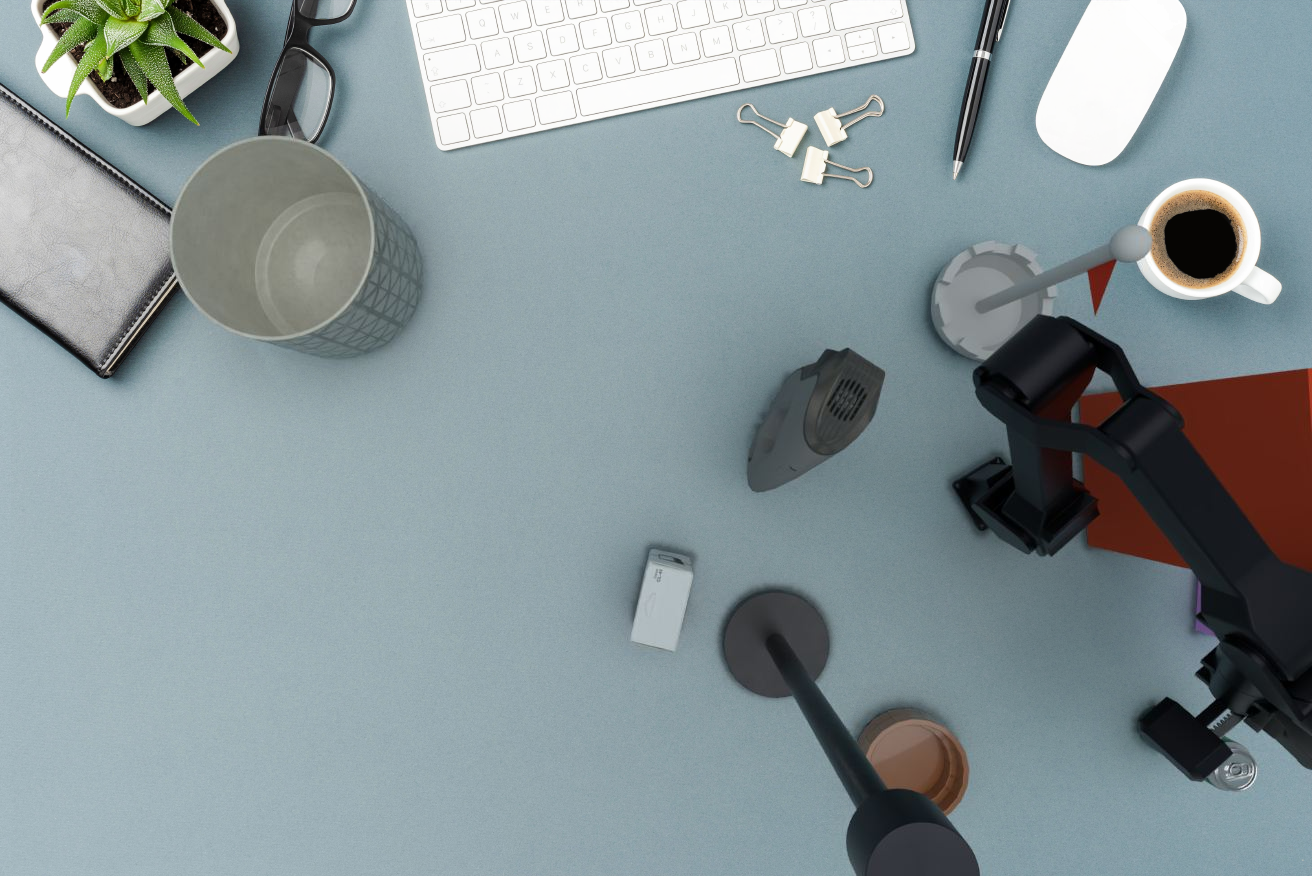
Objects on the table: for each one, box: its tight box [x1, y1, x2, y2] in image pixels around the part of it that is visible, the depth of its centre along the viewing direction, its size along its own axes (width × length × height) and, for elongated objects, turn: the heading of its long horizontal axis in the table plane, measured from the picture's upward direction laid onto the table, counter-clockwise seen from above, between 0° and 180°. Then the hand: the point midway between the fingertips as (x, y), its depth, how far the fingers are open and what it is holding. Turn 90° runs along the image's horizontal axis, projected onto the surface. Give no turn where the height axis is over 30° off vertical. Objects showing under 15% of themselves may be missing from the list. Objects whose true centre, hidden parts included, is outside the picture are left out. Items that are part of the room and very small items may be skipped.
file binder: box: [1078, 367, 1312, 572], centre depth 73 cm, size 8×17×32 cm, turn 3°
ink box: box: [629, 548, 694, 653], centre depth 83 cm, size 9×5×12 cm, turn 167°
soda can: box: [1140, 707, 1259, 793], centre depth 83 cm, size 5×5×12 cm
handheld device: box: [746, 346, 886, 493], centre depth 77 cm, size 6×15×25 cm, turn 147°
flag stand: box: [930, 224, 1153, 362], centre depth 74 cm, size 13×13×30 cm
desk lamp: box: [722, 589, 981, 876], centre depth 64 cm, size 12×12×49 cm
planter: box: [168, 135, 424, 360], centre depth 80 cm, size 19×19×18 cm
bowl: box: [856, 707, 970, 817], centre depth 87 cm, size 12×12×4 cm
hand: (1230, 707), depth 75 cm, fingers open, 9 cm apart
